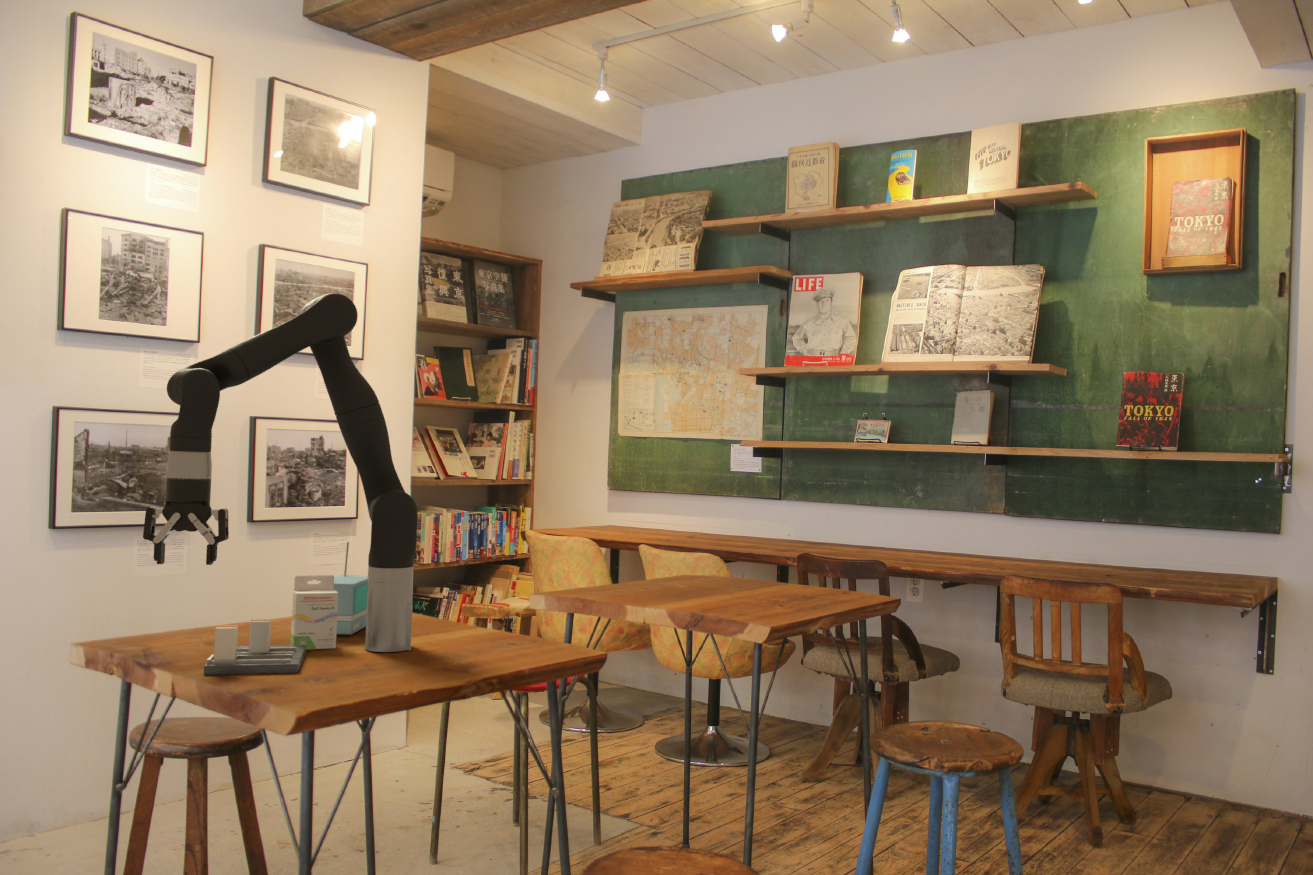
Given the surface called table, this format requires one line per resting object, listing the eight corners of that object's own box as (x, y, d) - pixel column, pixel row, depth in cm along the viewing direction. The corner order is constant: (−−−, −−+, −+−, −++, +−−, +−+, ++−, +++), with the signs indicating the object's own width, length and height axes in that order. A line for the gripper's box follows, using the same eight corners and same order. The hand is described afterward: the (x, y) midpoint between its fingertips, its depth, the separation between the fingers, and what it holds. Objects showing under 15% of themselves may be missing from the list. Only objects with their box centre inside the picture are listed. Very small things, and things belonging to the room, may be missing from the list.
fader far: (269, 650, 196) (271, 618, 196) (268, 653, 193) (269, 620, 193) (250, 650, 195) (251, 618, 195) (248, 653, 192) (249, 620, 192)
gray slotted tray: (306, 652, 204) (306, 640, 204) (297, 672, 185) (298, 659, 185) (220, 654, 199) (221, 642, 200) (203, 674, 181) (204, 661, 181)
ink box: (293, 650, 205) (296, 578, 206) (289, 646, 210) (292, 575, 210) (337, 648, 209) (339, 577, 210) (332, 644, 214) (335, 574, 214)
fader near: (236, 657, 188) (238, 624, 188) (234, 660, 185) (235, 626, 185) (216, 658, 187) (218, 624, 187) (213, 661, 184) (215, 627, 184)
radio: (356, 638, 222) (359, 547, 222) (315, 637, 222) (319, 546, 222) (377, 626, 237) (380, 541, 238) (339, 625, 237) (342, 540, 238)
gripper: (234, 477, 191) (230, 562, 191) (154, 474, 189) (150, 561, 188) (224, 478, 184) (220, 567, 183) (141, 475, 181) (136, 565, 181)
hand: (185, 564), depth 186 cm, fingers open, 8 cm apart
